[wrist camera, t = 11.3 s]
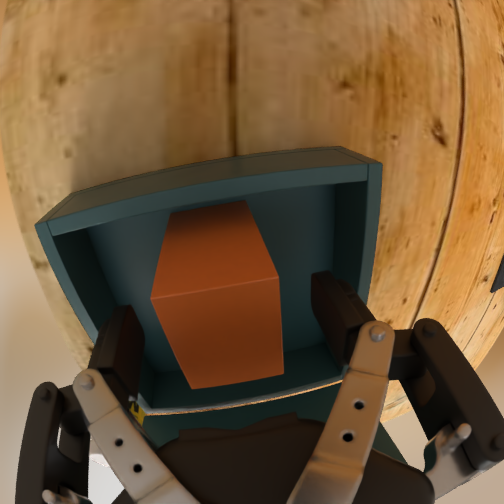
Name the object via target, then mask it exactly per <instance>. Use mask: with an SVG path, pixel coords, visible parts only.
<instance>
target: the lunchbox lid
mask: <svg viewBox="0 0 504 504" xmlns="http://www.w3.org/2000/svg"><path fill="white" fill-rule="evenodd" d="M341 384H342V382H341V383H338V384H334V385H331V386H328V387H324V388H321V389H317V390H313V391H310V392H306V393H302V394H298V395H294V396H290V397H285V398H281V399H276V400H272V401H267V402H262V403H257V404H251V405H246V406H240V407H234V408H227V409H220V410H212V411H204V412H195V413H184V414H171V415H153V416H144V419H143V423H142V427H143V428H144V429H145V431H146V432H147V433H148V434H149V436H150V437H151V438H152V439H153V440H154V441H155V443H156V444H157V445H158V446H159V447H161V446H162V445H164V444H165V443H167V442H169V441H170V440H173V439H175V438H178V437H179V430H180V429H193V428H203V427H210V428H220V429H231V430H238V429H241V428H244V427H246V426H249V425H251V424H254V423H256V422H258V421H261V420H263V419H265V418H268V417H273V416H278V415H282V414H287V413H291V412H295V411H296V413H297V416H298V418H307V419H314V420H319V421H322V422H325V423H326V422H327V420H328V418H329V415H330V413H331V410H332V408H333V405H334V403H335V400H336V398H337V395H338V392H339V390H340V387H341ZM372 448H374V449H376V450H378V451H380V452H382V453H384V454H386V455H388V456H390V457H392V458H394V459H396V460H399V461H401V462H403V463H405V464H407V462H406V460H405V459H404V458H403V456H402V454H401V453H400V451H399V450H398V448H397V447H396V445H395V444H394V442H393V441H392V439H391V437H390V436H389V434H388V433H387V432H386V430H385V429H384V427H383V425H382V424H381V422H380V421H379V424H378V428H377V431H376V435H375V438H374V441H373V444H372ZM407 465H408V464H407Z"/></svg>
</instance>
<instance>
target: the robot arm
mask: <svg viewBox="0 0 504 504" xmlns="http://www.w3.org/2000/svg"><path fill="white" fill-rule="evenodd" d="M310 301H311V308H312V311H313V314H314V316H315V318H316V320H317V322H318V324H319V326H320V328H321V330H322V332H323V334H324V336H325V338H326V340H327V342H328V344H329V346H330V348H331V350H332V352H333V354H334V356H335V358H336V360H337V362H338V364H339V366H340V367H342V366H345V365H348V366H349V367H348V369H347V370H346V373H345V376H344V378H343V381H342V384H341V387H340V390H339V392H338V395H337V398H336V400H335V403H334V405H333V408H332V410H331V413H330V415H329V418H328V420H327V422H326V423H325V422H322V421H319V420H314V419H307V418H298V416H297V413H296V411H295V412H291V413H287V414H282V415H278V416H273V417H268V418H265V419H263V420H261V421H258V422H256V423H254V424H251V425H249V426H246V427H244V428H241V429H238V430H231V429H220V428H210V427H203V428H193V429H180V430H179V437H178V438H175V439H173V440H170V441H169V442H167V443H165V444H164V445H162V446H161V447H159V446H158V445H157V444H156V443H155V441H154V440H153V439H152V438H151V437H150V436H149V434H148V433H147V432H146V431H145V429H144V428H143V427H142V426H141V424H140V423H139V422H138V420H137V419H136V418H135V416H134V415H133V414H132V412H131V411H130V410H129V408H128V401H138V391H139V383H140V375H141V367H142V360H143V353H144V346H145V334H144V330H143V328H142V326H141V324H140V322H139V319H138V317H137V315H136V313H135V311H134V308H133V307H132V305H130V304H129V305H122V306H115V307H114V309H113V312H112V315H111V318H109V319H106V320H105V322H104V323H103V324H102V326H101V327H100V329H99V332H98V335H97V336H98V337H97V339H96V342H95V345H94V348H93V351H92V355H91V358H90V361H89V365H88V368H87V369H86V370H83V371H81V372H80V373H79V374H78V375H77V376H76V377H75V379H74V381H73V384H72V385H69V386H66V387H63V388H59V389H58V388H57V387H56V386H55V384H54V383H52V382H44V383H42V384H40V385H39V386H38V387H37V388H36V390H35V391H34V394H33V397H32V401H31V404H30V409H29V412H28V416H27V421H26V426H25V430H24V434H23V440H22V445H21V451H20V457H19V464H18V472H17V481H16V495H15V504H93V503H92V502H91V501H90V500H89V499H88V470H89V467H88V466H89V451H90V438H91V436H92V437H93V439H94V441H95V443H96V445H97V446H98V448H99V450H100V451H101V453H102V455H103V456H104V458H105V460H106V461H107V463H108V464H109V466H110V467H111V469H112V470H113V472H114V473H115V475H116V476H117V478H118V479H119V481H120V482H121V484H122V485H123V486H124V490H123V491H122V492H121V494H119V495H118V497H117V498H116V499H115V500H114V501H113V502H112V504H434V503H435V500H436V499H438V498H440V497H442V496H443V495H445V494H447V493H448V492H450V491H452V490H453V489H455V488H456V487H458V486H460V485H463V484H464V483H466V482H468V481H470V480H472V479H473V478H475V477H477V476H479V475H480V474H482V473H484V472H485V471H487V470H488V469H490V468H492V467H493V466H495V465H496V464H498V463H499V462H501V461H502V460H503V459H504V418H503V416H502V415H501V413H500V411H499V409H498V408H497V406H496V404H495V403H494V401H493V399H492V397H491V396H490V394H489V393H488V391H487V389H486V388H485V386H484V385H483V383H482V382H481V380H480V378H479V377H478V375H477V374H476V372H475V371H474V369H473V368H472V366H471V365H470V363H469V362H468V360H467V359H466V358H465V356H464V355H463V353H462V352H461V350H460V349H459V348H458V346H457V345H456V344H455V342H454V341H453V339H452V338H451V337H450V335H449V334H448V333H447V331H446V330H445V329H444V327H443V326H442V325H441V324H440V323H439V322H437V321H436V320H433V319H430V318H423V319H420V320H418V321H417V322H416V323H415V324H414V327H413V329H404V330H393V328H392V327H391V326H390V325H389V324H387V323H385V322H382V321H377V320H376V319H375V317H374V316H373V314H372V313H371V312H370V310H369V309H368V308H367V306H366V305H365V303H364V302H363V301H362V299H360V297H359V295H358V294H357V293H356V291H355V290H354V288H353V287H352V286H351V284H349V283H348V282H346V281H344V280H343V279H337V280H336V279H335V278H334V277H333V275H332V274H331V272H330V271H329V270H325V271H320V272H315V273H312V274H311V298H310ZM389 380H399V381H400V383H401V385H402V387H403V389H404V391H405V393H406V395H407V397H408V399H409V401H410V403H411V405H412V407H413V409H414V411H415V413H416V415H417V417H418V419H419V422H420V424H421V426H422V428H423V430H424V432H425V434H426V437H427V439H428V441H429V442H428V443H427V445H426V446H425V449H424V459H425V469H424V472H422V471H420V470H419V469H416V468H414V467H412V466H410V465H407V464H405V463H403V462H401V461H399V460H396V459H394V458H392V457H390V456H388V455H386V454H384V453H382V452H380V451H378V450H376V449H374V448H372V444H373V441H374V438H375V435H376V431H377V428H378V424H379V421H380V417H381V414H382V410H383V406H384V402H385V398H386V393H387V389H388V384H389ZM59 427H60V428H61V435H60V441H59V448H58V446H57V437H58V430H59Z"/></svg>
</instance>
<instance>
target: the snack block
mask: <svg viewBox="0 0 504 504" xmlns="http://www.w3.org/2000/svg"><path fill="white" fill-rule="evenodd" d="M150 299H151V302H152V304H153V307H154V309H155V312H156V314H157V316H158V319H159V321H160V323H161V326H162V328H163V330H164V333H165V335H166V337H167V339H168V342H169V344H170V346H171V348H172V350H173V352H174V355H175V357H176V359H177V361H178V363H179V365H180V367H181V369H182V371H183V373H184V375H185V377H186V379H187V381H188V383H189V385H190V387H191V389H200V388H207V387H215V386H222V385H228V384H234V383H240V382H246V381H251V380H257V379H262V378H267V377H271V376H276V375H281V374H283V373H284V365H283V342H282V322H281V303H280V286H279V276H278V273H277V271H276V269H275V266H274V264H273V262H272V259H271V257H270V255H269V253H268V250H267V248H266V246H265V243H264V241H263V239H262V236H261V234H260V232H259V229H258V227H257V225H256V223H255V220H254V218H253V216H252V214H251V211H250V209H249V207H248V204H247V202H246V200H243V201H237V202H231V203H225V204H219V205H213V206H208V207H202V208H196V209H191V210H186V211H180V212H175V213H171V214H170V216H169V220H168V224H167V228H166V231H165V235H164V239H163V243H162V247H161V252H160V256H159V260H158V264H157V269H156V273H155V278H154V283H153V288H152V292H151V297H150Z"/></svg>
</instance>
